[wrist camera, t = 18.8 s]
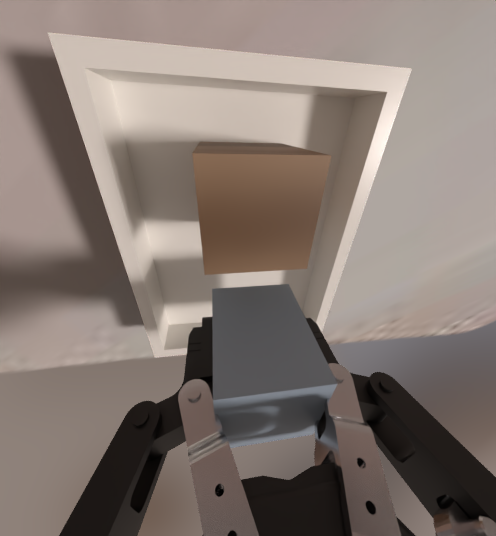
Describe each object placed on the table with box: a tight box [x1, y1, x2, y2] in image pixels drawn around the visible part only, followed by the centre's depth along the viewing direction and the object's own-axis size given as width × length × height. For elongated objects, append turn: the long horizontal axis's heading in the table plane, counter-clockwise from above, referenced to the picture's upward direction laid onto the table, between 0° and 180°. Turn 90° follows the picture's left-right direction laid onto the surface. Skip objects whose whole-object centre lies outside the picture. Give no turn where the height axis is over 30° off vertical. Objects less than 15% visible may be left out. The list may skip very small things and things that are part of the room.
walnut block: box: [192, 142, 332, 275], centre depth 10 cm, size 4×4×6 cm
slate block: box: [212, 284, 337, 448], centre depth 11 cm, size 4×4×6 cm
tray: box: [48, 33, 412, 358], centre depth 14 cm, size 14×18×4 cm
